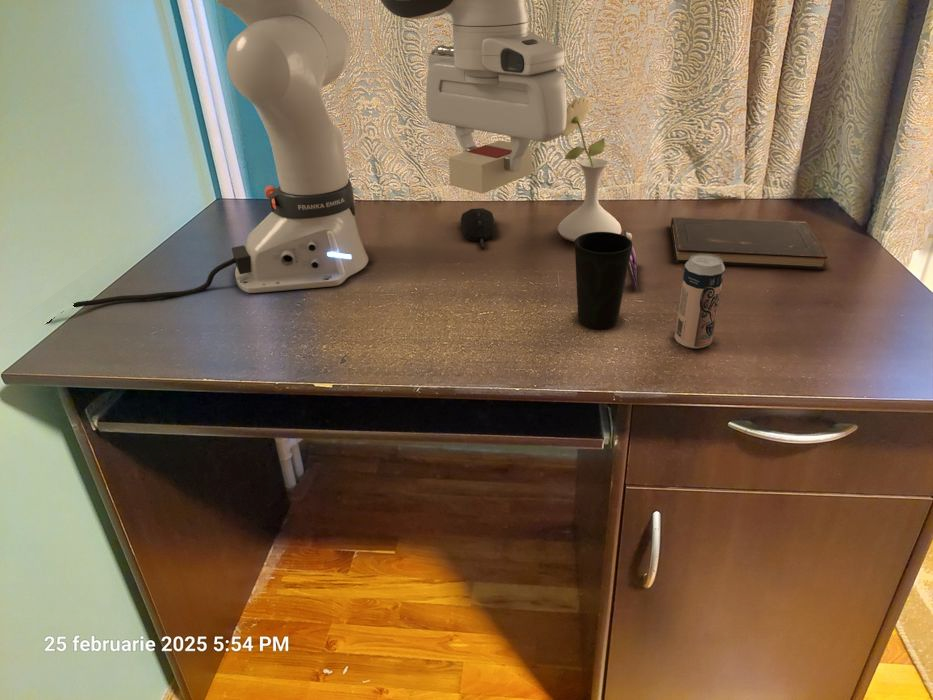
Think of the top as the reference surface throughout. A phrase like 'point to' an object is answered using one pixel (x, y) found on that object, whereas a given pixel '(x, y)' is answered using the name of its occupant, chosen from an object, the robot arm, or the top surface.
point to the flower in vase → (586, 181)
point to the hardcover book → (748, 242)
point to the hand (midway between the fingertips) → (492, 165)
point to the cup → (601, 277)
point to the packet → (486, 167)
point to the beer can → (699, 300)
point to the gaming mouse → (478, 225)
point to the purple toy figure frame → (632, 272)
